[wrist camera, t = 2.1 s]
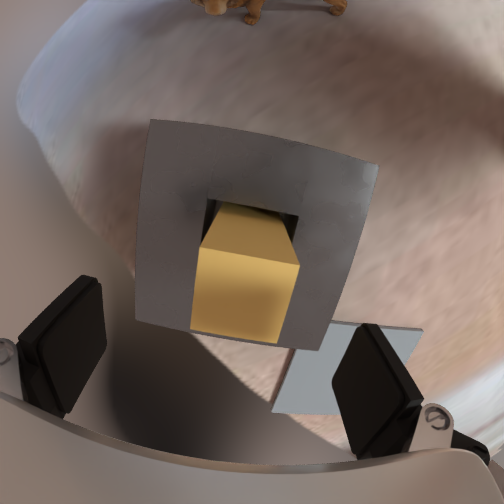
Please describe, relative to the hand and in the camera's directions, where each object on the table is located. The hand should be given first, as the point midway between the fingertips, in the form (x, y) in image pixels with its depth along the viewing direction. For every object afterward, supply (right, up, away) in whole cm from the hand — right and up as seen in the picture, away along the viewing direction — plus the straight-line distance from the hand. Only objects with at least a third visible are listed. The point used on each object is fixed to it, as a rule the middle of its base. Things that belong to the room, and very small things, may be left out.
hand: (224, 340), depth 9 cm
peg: (+1, +5, +14) cm, 15 cm away
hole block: (+1, +6, +15) cm, 17 cm away
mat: (+13, -13, +22) cm, 29 cm away
